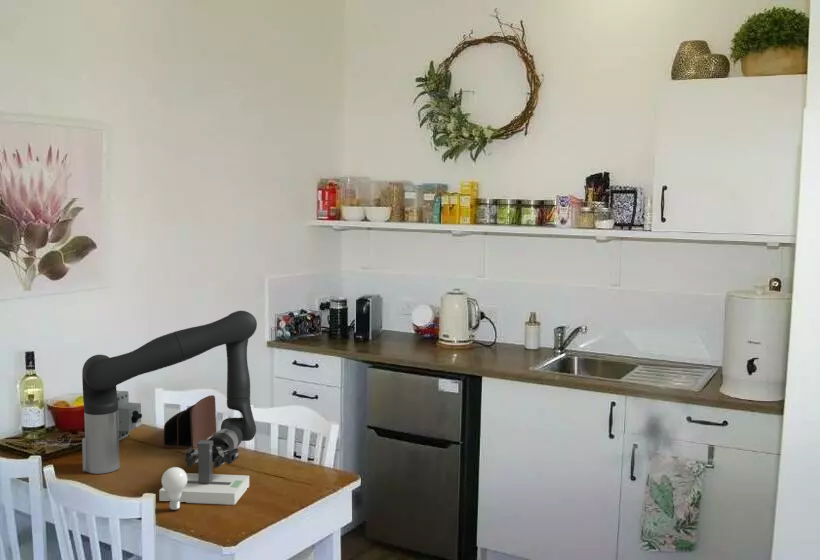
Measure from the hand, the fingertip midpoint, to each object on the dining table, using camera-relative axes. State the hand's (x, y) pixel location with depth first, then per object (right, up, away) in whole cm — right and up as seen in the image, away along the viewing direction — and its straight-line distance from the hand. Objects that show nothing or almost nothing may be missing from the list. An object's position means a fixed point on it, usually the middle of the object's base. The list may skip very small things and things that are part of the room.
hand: (202, 463), depth 217 cm
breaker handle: (0, -5, +3) cm, 6 cm away
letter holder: (-17, -4, +52) cm, 55 cm away
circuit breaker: (-40, -4, +52) cm, 66 cm away
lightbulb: (-5, -10, -8) cm, 14 cm away
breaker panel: (0, -9, +3) cm, 9 cm away
